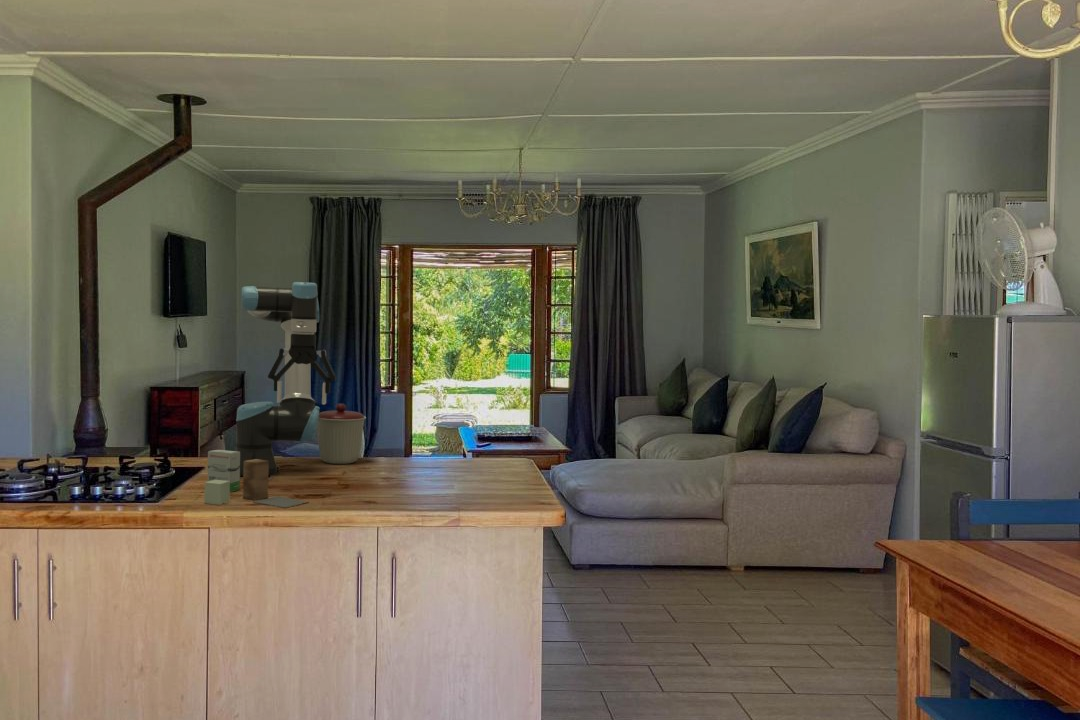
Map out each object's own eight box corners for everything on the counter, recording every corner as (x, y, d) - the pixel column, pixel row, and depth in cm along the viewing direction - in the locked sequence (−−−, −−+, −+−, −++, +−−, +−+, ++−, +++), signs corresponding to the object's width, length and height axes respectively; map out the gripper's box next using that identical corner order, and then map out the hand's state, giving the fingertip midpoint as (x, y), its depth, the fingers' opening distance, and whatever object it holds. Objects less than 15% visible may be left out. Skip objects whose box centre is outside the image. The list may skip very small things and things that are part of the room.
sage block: (204, 503, 291) (204, 482, 291) (213, 500, 296) (214, 479, 296) (220, 505, 290) (220, 483, 290) (229, 501, 295) (230, 481, 294)
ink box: (240, 489, 312) (241, 451, 311) (230, 492, 307) (231, 453, 307) (216, 486, 315) (217, 448, 314) (206, 489, 310) (207, 450, 309)
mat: (253, 502, 294) (253, 501, 294) (277, 497, 303) (277, 496, 303) (284, 508, 289) (284, 507, 289) (308, 502, 297) (308, 501, 297)
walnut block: (242, 498, 300) (243, 461, 299) (255, 495, 304) (256, 458, 303) (255, 500, 297) (256, 462, 297) (267, 497, 302) (268, 460, 301)
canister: (339, 468, 356) (341, 407, 355) (302, 461, 366) (304, 402, 365) (375, 462, 371) (377, 404, 370) (338, 456, 381) (340, 399, 380)
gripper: (258, 332, 307) (257, 402, 308) (342, 335, 307) (340, 406, 309) (264, 331, 314) (263, 400, 316) (346, 334, 315) (344, 403, 316)
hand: (301, 403), depth 312 cm, fingers open, 13 cm apart
